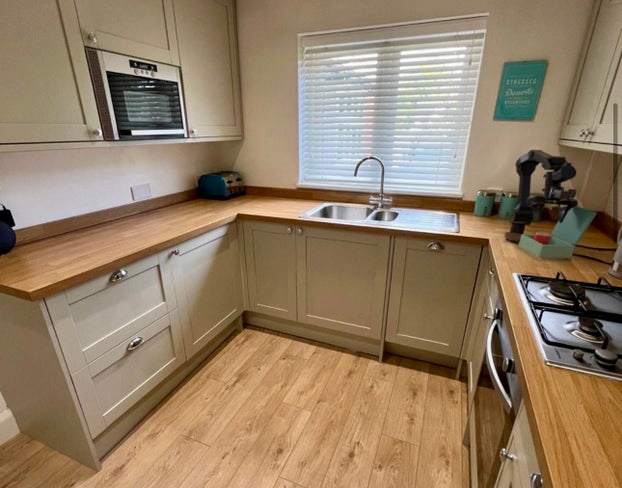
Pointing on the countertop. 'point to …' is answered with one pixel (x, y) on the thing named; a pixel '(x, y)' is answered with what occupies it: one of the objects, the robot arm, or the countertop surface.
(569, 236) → the lid
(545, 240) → the can
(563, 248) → the green hinged box
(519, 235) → the stool
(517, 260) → the countertop surface
